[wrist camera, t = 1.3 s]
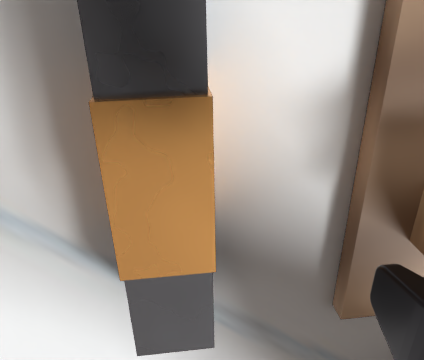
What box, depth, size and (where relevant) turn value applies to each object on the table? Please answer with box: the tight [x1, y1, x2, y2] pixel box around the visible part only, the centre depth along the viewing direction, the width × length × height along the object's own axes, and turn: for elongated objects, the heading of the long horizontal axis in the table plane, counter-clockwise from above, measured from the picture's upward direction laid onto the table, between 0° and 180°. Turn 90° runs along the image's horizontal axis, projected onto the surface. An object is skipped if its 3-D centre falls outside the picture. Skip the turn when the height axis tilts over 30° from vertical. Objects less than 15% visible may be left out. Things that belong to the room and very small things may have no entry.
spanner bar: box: [77, 0, 216, 356], centre depth 13 cm, size 14×3×4 cm, turn 1°
